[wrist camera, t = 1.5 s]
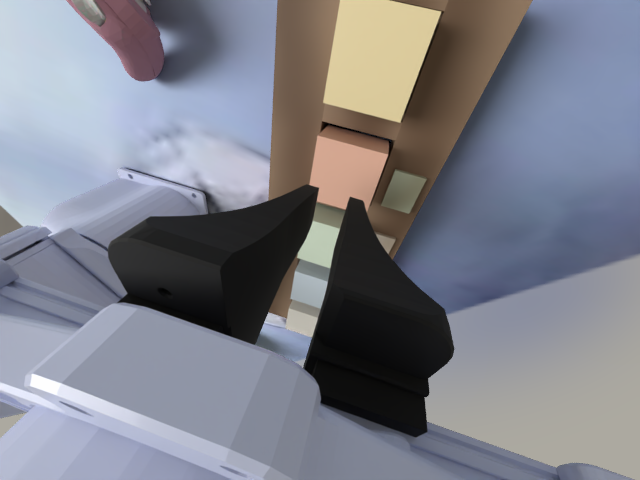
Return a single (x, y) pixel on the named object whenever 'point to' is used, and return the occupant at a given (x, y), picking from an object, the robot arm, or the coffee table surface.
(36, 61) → the coffee table surface
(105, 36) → the video game controller
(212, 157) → the coffee table surface
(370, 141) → the terracotta key
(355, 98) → the ochre key
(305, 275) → the bluegrey key
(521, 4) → the keypad
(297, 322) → the offwhite key
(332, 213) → the sage key
